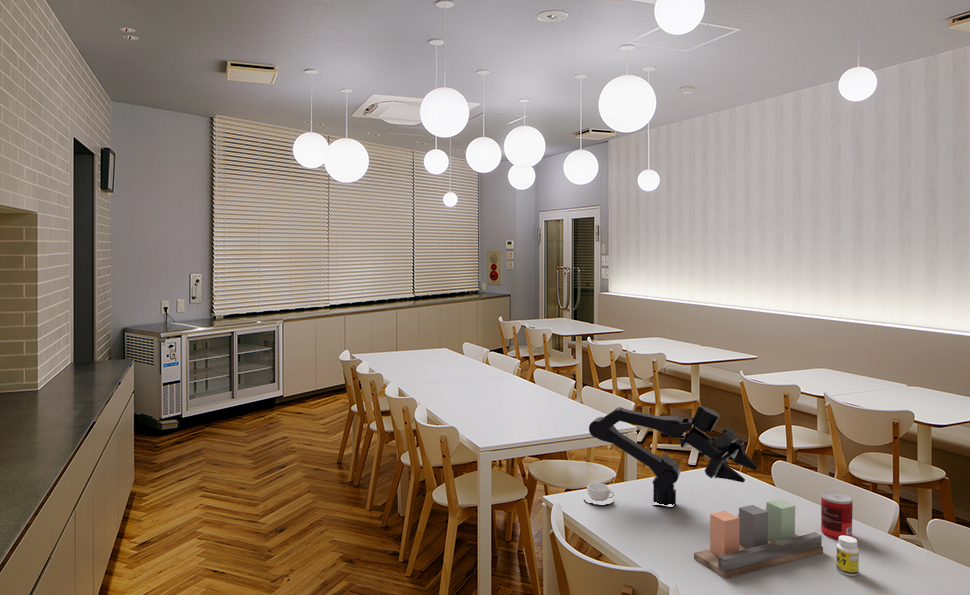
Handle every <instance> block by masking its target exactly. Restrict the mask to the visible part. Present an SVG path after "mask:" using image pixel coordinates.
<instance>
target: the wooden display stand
mask: <svg viewBox="0 0 970 595" xmlns="http://www.w3.org/2000/svg"><path fill="white" fill-rule="evenodd" d="M822 537H823V536H822V534H820V533H818V532H809V533H805V534H802V535H798V534H797V533H795V537H794V538H789V539H785V540H781V541H777V542H774V541H772V540H770V539H768V544H765V545H761V546H757V547H753V548H749V549H747V548H745V547H743V546H741V545H739V551H737V552H733V553H729V554H725V555H721V556H718V555H716V554H714V553H712V552H711V551H710V548H709V549H705V550H699V551H696V552H693V559H694V560H695V559H696V560H695V561H697V562H698V563H700V564H702V565H703V566H704V567H706V568H708V569H710V570H711V571H713V572H714V573H716V574H718V575H719V576H721V577H722V578H724V579H725V580H726V579H729V578H733V577H737V576H741V575H744V574H748V573H752V572H755V571H759V570H763V569H767V568H772V567H774V566H778V565H781V564H784V563H785V564H786V563H789V562H794V561H796V560H800V559H803V558H808V557H811V556H816V555H819V554H822V553H824V547H823V545H822V542H823V541H822Z"/></svg>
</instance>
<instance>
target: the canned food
mask: <svg viewBox="0 0 970 595" xmlns="http://www.w3.org/2000/svg"><path fill="white" fill-rule="evenodd" d="M853 502H854V501H853V498H852V497H851V496H850V495H847V494H845V493H842V492H838V491H837V492H836V491H824V492H822V493H821V500H820V508H821V510H820V512H821V514H820V517H821V518H820V530H821V532H822V534H823V535H824V536H826V537H828V538H830V539H834V540H839V536H842V535H844V536H850V537H853V508H854V507H853Z"/></svg>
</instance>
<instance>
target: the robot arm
mask: <svg viewBox="0 0 970 595" xmlns="http://www.w3.org/2000/svg"><path fill="white" fill-rule="evenodd" d="M720 417H721V416H720V414H719V413H718V412H717V411H715V410H713V409H711V408H708V407H705V406H702V405H700V404H699V406H698V407H697V409H696V412H695V414H694V416H693V417H685V418H683V417H681V416H677V415H675V416H674V415H653V414H650V413H646V412H640V411H637V410H636V411H635V410H630V409H628V408H624V407H621V406H618V407H616V408H615V409H614V410H613V411H611V412H609V413H608V414H606V415H605V416H600V417H599V416H598V417H597V418H594V420H593V421H592V422H590V424H589V425H588V431H589V435H591V437H592V438H593V437H594V438H595V439H597V440H599V441H601V442H606V443H610V444H613V446H616V447H617V448H618V449H620V450H622V451H623V452H625V453H626V454H627V455H629V456H631V457H633V458H634V459H636V460H637V461H639V462H640V463H642V464H643V465H645V466H647V467H648V468H649V469H650V470H651V471H652V472H653V473H654V475H655V477H654V479H653V480H652V485H653V488H652V489H653V493H652V494H653V497H652V498H653V501H654V502H657V503H659V504H664V505H668V504H672V505H673V504H675V505H676V503H677V489H675V484H676V483H677V481H678V479H679V478H680V475H681V471H682V470H681V467H680V465H679V464H678V463H677V460H676V459H674V458H671V457H670V456H669V455H667V454H666V453H664V454H663V456H658V455H656V454H654V453H653V452H651V451H650V450H648V449H646V448H645V447H644V446H642V445H640V444H639V443H637V442H636V441H634V440H632V439H631V438H630V437H628V436H626V435H625V434H623V433H621V432H620V431H619V429H617V427H616V426H615V425H616V424H618V423H619V422H623V423H627V424H631V425H635V426H640V427H643V428H648V429H653V430H656V431H658V432H659V433H661V434H662V435H665V436H667V437H670V438H673V439H679V442H680V447H681V448H685V447H687V446H688V445H689V446H690V447H692V448H694V449H695V450H696V451H698V452H700V455H699V456H700V457H702V458H704V457H706V458H708V459H709V461H708V462H707V465H706V467H705V469H704V473H705V475H706V476H707V477H708V478H710V479H713V478H714V479H725V480H730V481H734V482H739V483H745V481H746V479H745V477H743V475H741V474H740V473H738V472H737V471H736V470H735V469H733V468H732V467H730V466H729V463H728V461H727V460H731V461H732V462H733V463H735V464H738V465H740V466H743V467H744V468H748V469H749V470H754V471H757V470H758V466H757V465H756V464H755V463H754V461H753V460H752V459H751V458H750V457H749V456H748V454H747V453H746V450H745V445H744V443H745V442H744V441H743V440H741V439H739V438H738V437H737V436H736V432H735V430H734V429H732V428H730V427H725V428H723V429H722V431H721V433H722V435H720V436H719V437H717V436H716V435H715V436H712V437H711V436H709V435H708V434H706V433H708V432H712V431H713V429H714V428H715V426H716V424H717V423H718V421H719V419H720ZM685 432H686V433H685ZM684 433H685V434H684ZM683 435H684V436H683ZM682 436H683V438H681V437H682ZM653 501H652V502H653Z"/></svg>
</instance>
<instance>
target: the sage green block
mask: <svg viewBox="0 0 970 595" xmlns="http://www.w3.org/2000/svg"><path fill="white" fill-rule="evenodd" d="M764 510H765V511H768V539H770V540H772V541H774V542H777V541H781V540H785V539H789V538H794V537H795V534H796V505H795V504H792V503H790V502H787V501H785V500H782V499H774V500H770V501H769V500H768V501H766V506H765V509H764Z"/></svg>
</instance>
